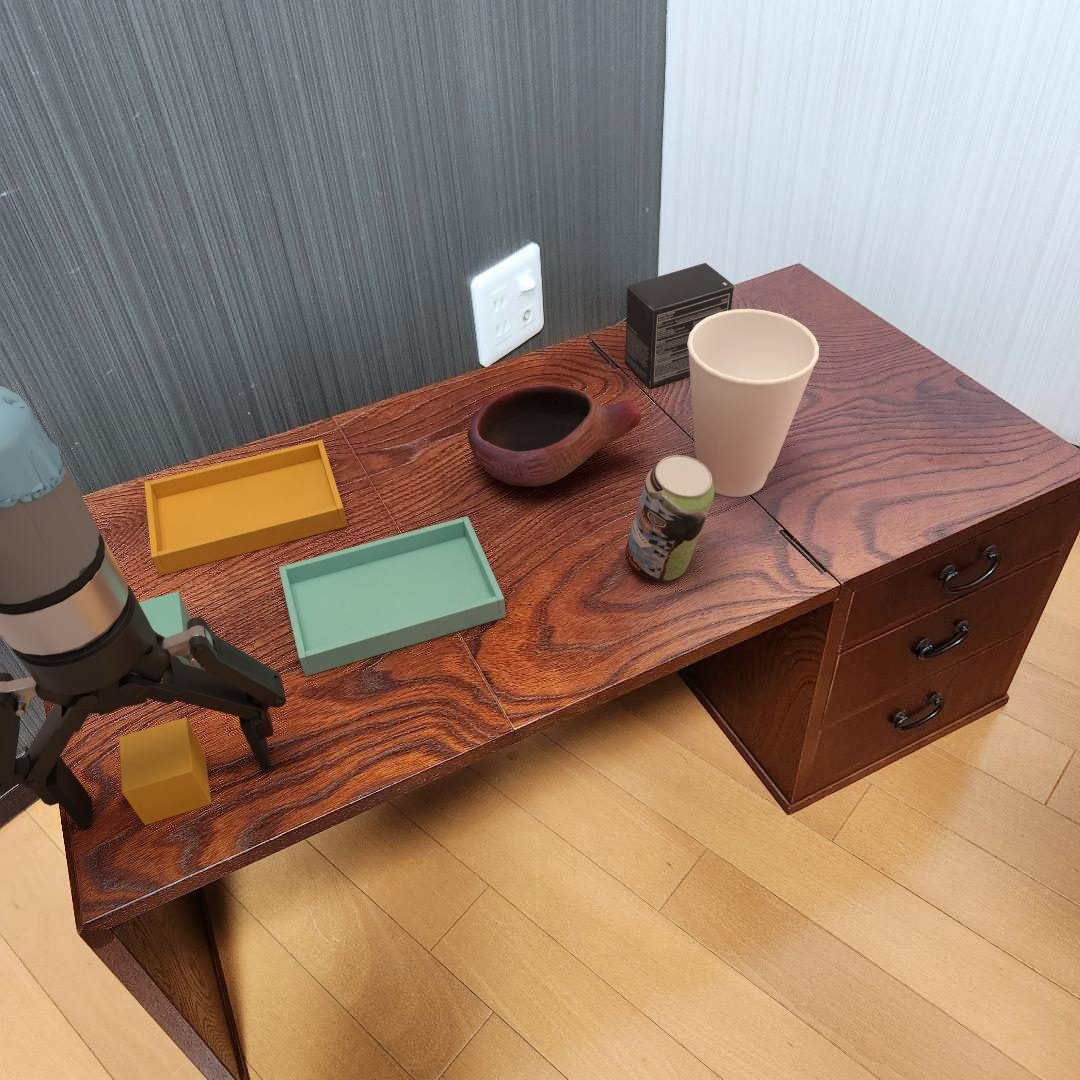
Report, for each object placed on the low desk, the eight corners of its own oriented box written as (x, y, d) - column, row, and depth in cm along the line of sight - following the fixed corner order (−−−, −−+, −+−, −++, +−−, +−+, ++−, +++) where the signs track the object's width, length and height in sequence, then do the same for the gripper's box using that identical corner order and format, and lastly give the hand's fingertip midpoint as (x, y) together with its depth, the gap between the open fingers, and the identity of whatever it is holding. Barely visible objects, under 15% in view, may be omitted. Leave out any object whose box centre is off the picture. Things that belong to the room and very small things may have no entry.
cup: (810, 464, 97) (841, 332, 85) (758, 530, 90) (784, 398, 79) (709, 424, 102) (726, 295, 90) (652, 484, 95) (663, 353, 84)
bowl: (506, 524, 92) (502, 463, 86) (454, 451, 100) (446, 391, 94) (644, 471, 97) (649, 410, 91) (584, 405, 105) (584, 345, 99)
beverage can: (627, 538, 90) (632, 442, 82) (703, 544, 89) (717, 448, 81) (622, 586, 86) (627, 491, 77) (702, 593, 85) (716, 498, 76)
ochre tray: (160, 576, 89) (151, 557, 87) (152, 500, 96) (144, 482, 94) (348, 526, 92) (343, 507, 91) (326, 457, 100) (322, 439, 98)
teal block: (141, 686, 80) (121, 650, 76) (138, 643, 83) (118, 607, 79) (200, 669, 81) (183, 633, 77) (195, 627, 84) (178, 591, 80)
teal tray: (305, 676, 80) (298, 658, 78) (284, 585, 87) (278, 566, 85) (506, 617, 84) (504, 598, 82) (470, 534, 91) (467, 515, 89)
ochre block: (144, 825, 71) (121, 792, 67) (141, 770, 74) (118, 736, 70) (211, 804, 72) (192, 770, 68) (205, 751, 75) (186, 716, 71)
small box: (697, 337, 114) (706, 259, 106) (727, 365, 109) (738, 285, 102) (621, 361, 111) (625, 282, 103) (649, 390, 106) (654, 310, 99)
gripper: (262, 518, 63) (326, 698, 78) (-144, 625, 57) (10, 796, 72) (280, 597, 58) (344, 773, 73) (-163, 722, 52) (6, 884, 68)
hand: (177, 785), depth 73 cm, fingers open, 13 cm apart
